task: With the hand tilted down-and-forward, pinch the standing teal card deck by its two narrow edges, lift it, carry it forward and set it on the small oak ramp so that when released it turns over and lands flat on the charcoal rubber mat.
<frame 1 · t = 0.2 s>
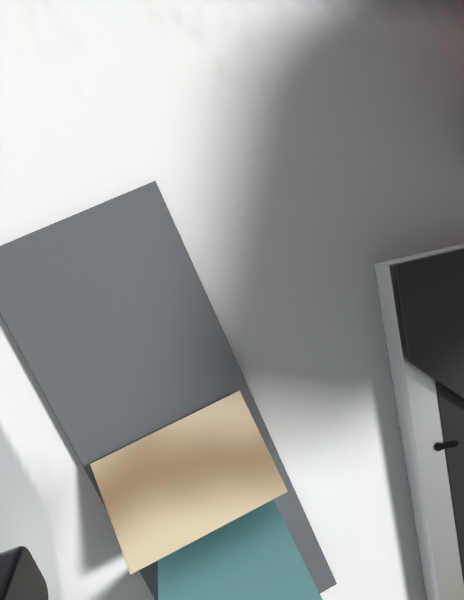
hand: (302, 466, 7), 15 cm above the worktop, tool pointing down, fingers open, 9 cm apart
ramp: (186, 460, 23), resting on mat
mat: (174, 436, 23), on the worktop
card deck: (222, 535, 23), resting on mat
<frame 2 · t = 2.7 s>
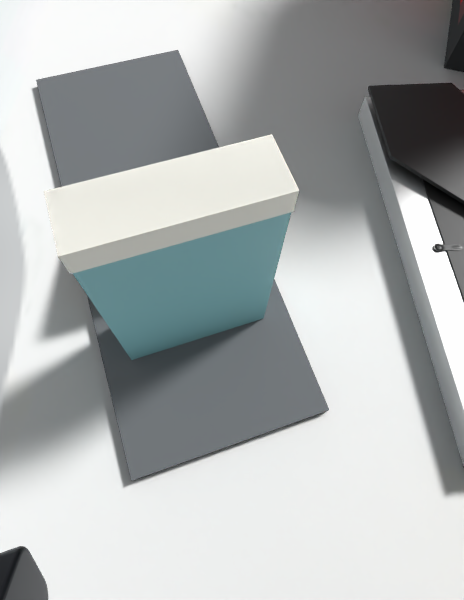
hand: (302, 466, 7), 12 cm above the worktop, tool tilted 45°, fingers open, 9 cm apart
mat: (160, 223, 24), on the worktop
card deck: (192, 319, 21), resting on mat
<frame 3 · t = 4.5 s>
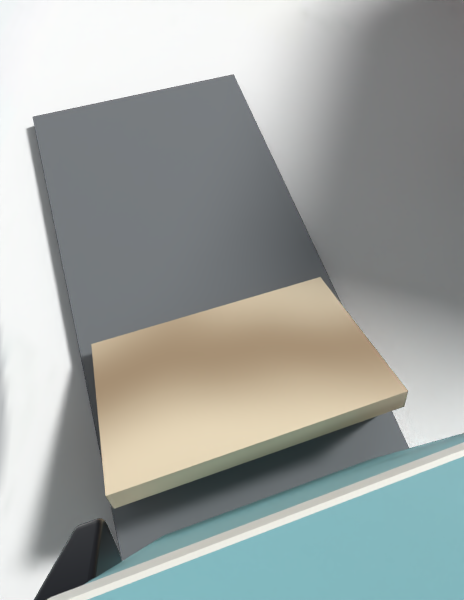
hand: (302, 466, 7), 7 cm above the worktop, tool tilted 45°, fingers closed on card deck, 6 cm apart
ramp: (233, 386, 15), resting on mat
mat: (219, 345, 15), on the worktop
card deck: (283, 532, 13), resting on mat, touching gripper
when the fingers open (9 cm above the worktop, at t = 7.3 s): card deck moves 2 cm and tips over, resting on mat, ramp.
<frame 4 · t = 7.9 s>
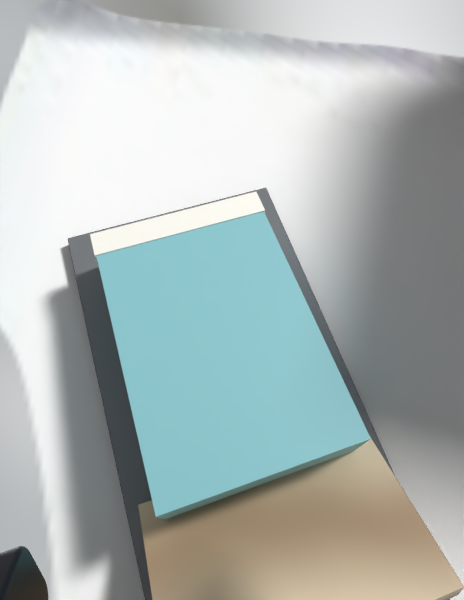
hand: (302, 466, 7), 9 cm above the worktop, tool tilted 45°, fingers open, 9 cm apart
ramp: (278, 541, 15), resting on mat
mat: (262, 494, 15), on the worktop
card deck: (265, 480, 13), point 2 cm above the worktop, tilted 95°, touching mat, ramp
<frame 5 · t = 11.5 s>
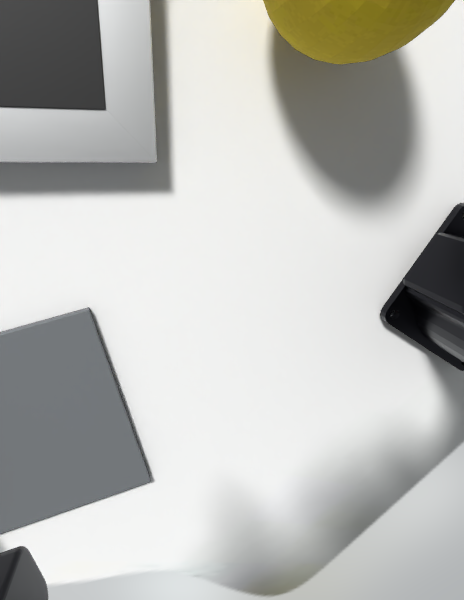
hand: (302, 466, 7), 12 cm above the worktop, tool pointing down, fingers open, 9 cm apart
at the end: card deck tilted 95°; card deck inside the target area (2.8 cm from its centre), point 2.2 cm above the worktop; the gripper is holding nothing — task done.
